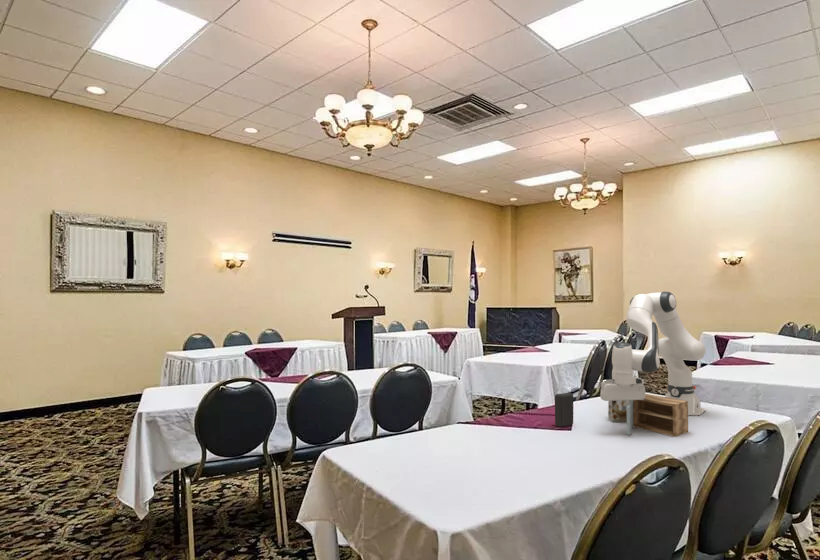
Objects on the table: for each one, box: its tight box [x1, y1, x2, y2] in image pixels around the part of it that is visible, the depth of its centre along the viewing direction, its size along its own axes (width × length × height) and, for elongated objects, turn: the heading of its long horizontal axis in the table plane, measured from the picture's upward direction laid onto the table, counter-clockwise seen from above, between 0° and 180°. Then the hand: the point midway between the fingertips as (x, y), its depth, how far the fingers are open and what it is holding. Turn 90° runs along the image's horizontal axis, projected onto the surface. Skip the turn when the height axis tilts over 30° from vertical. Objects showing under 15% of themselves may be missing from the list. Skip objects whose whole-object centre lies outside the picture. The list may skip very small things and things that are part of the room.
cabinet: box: [633, 393, 689, 438], centre depth 227 cm, size 12×20×14 cm, turn 36°
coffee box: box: [607, 400, 630, 424], centre depth 241 cm, size 9×6×16 cm
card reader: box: [554, 392, 574, 428], centre depth 233 cm, size 9×4×15 cm, turn 119°
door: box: [626, 400, 634, 436], centre depth 222 cm, size 1×19×12 cm, turn 151°
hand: (622, 410), depth 222 cm, fingers closed
